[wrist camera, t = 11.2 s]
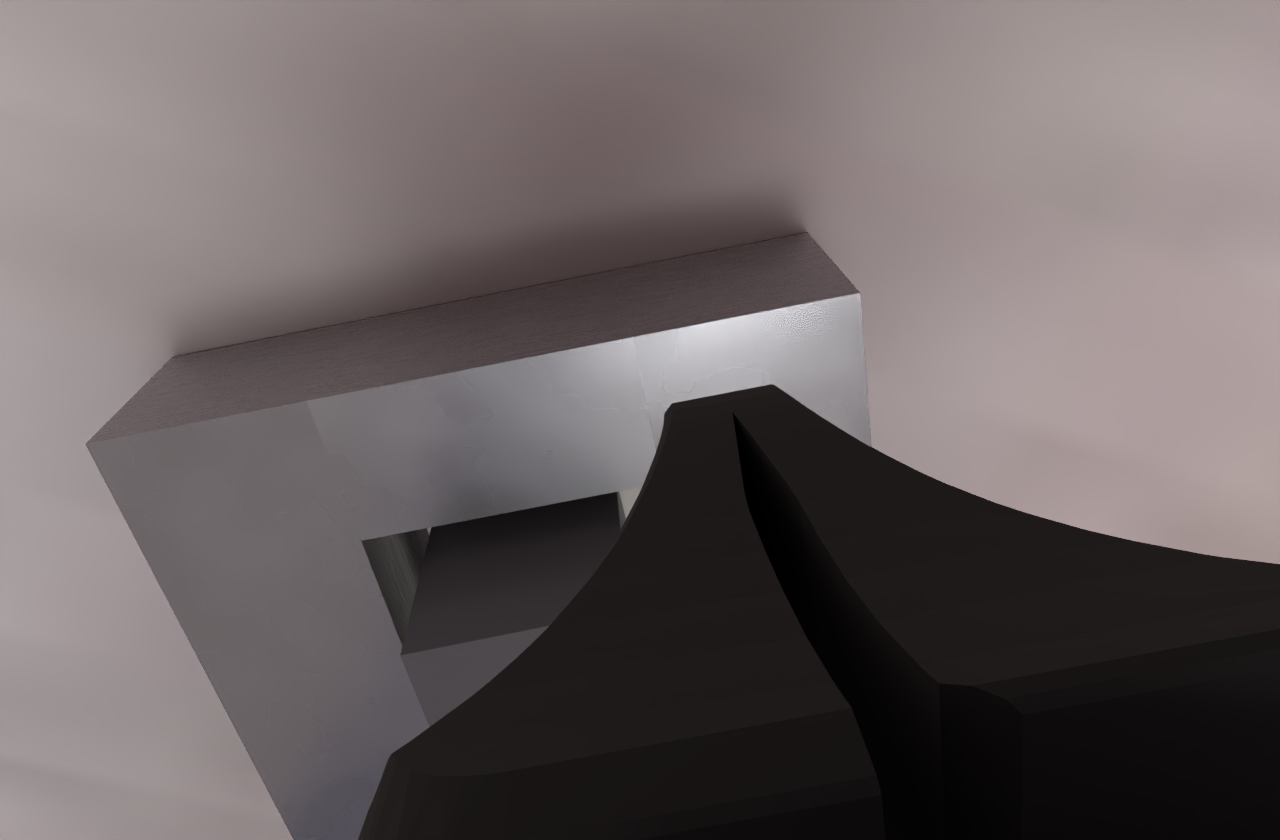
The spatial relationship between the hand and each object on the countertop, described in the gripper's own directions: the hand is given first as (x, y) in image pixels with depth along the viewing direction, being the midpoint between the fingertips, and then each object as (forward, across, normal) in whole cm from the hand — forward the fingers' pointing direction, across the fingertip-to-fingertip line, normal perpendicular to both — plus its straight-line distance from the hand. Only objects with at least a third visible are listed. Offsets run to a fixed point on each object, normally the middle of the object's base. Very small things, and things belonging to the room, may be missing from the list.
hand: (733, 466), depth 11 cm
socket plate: (+10, +4, +7) cm, 12 cm away
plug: (+8, +4, +7) cm, 12 cm away
